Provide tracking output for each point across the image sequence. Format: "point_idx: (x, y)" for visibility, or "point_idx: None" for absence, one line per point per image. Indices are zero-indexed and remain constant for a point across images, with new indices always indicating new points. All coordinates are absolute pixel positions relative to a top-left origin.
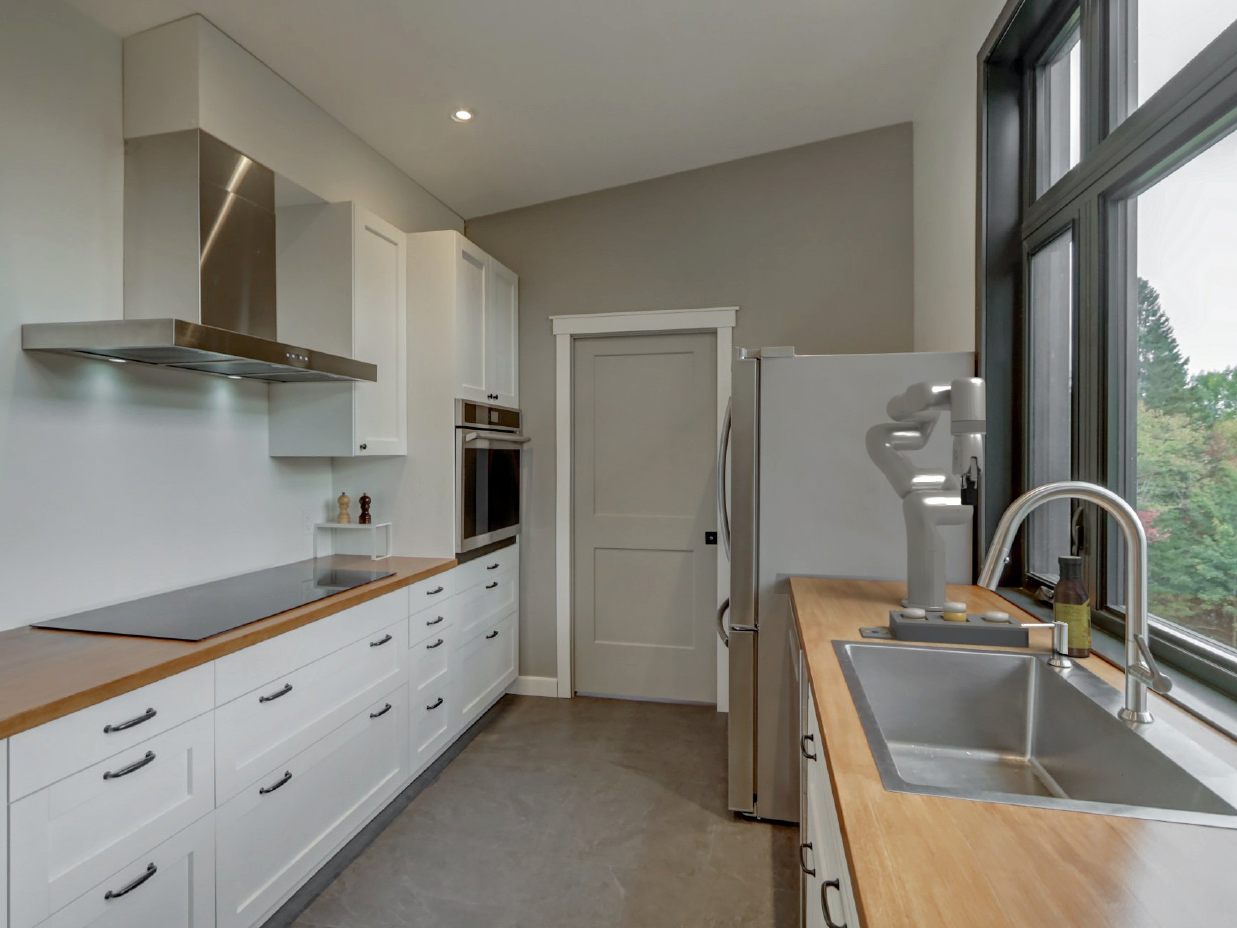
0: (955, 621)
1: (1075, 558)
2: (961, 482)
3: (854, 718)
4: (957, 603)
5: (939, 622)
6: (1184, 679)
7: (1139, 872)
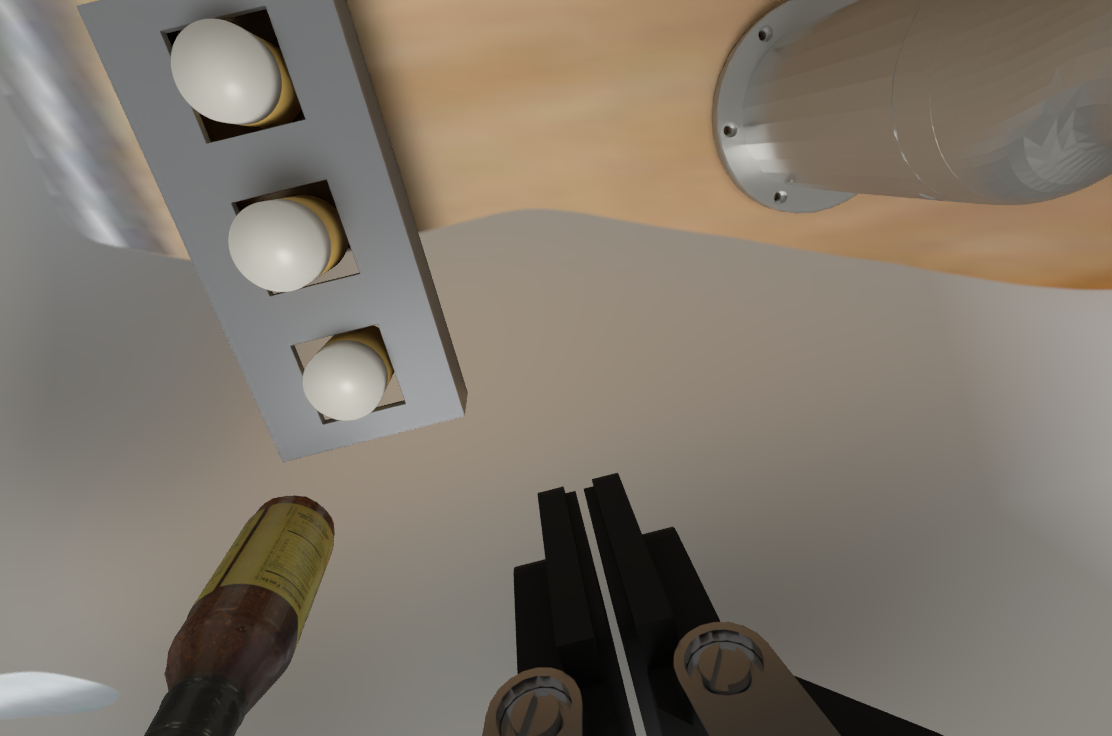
0: None
1: None
2: (730, 730)
3: None
4: (288, 259)
5: (188, 185)
6: None
7: None
